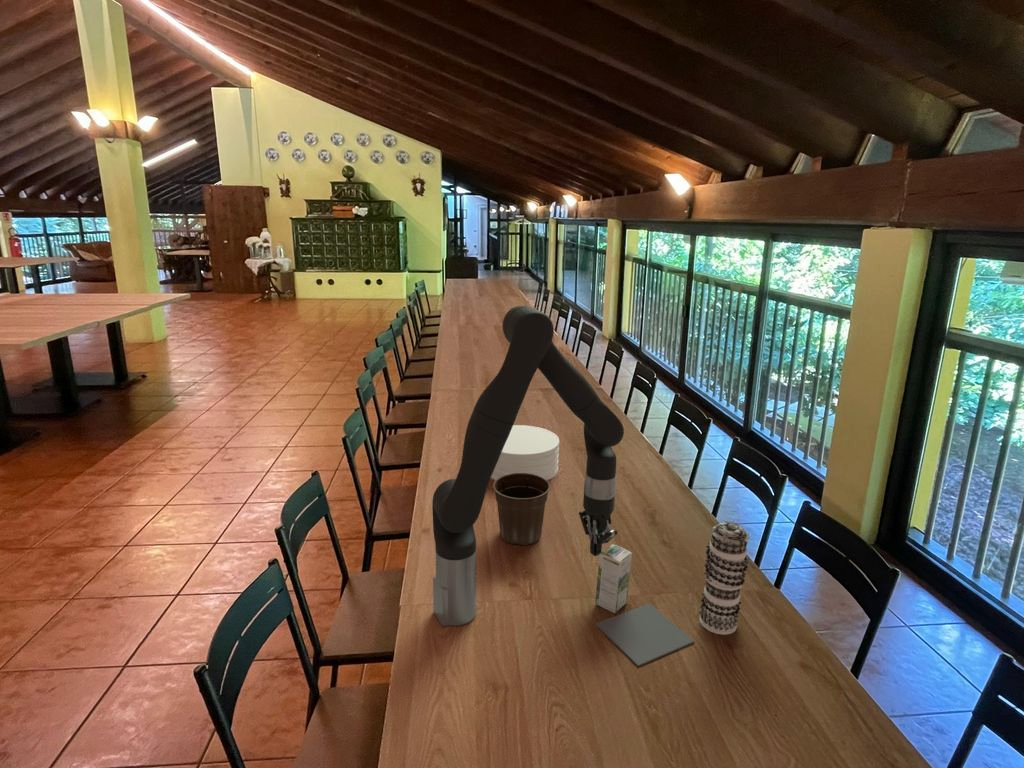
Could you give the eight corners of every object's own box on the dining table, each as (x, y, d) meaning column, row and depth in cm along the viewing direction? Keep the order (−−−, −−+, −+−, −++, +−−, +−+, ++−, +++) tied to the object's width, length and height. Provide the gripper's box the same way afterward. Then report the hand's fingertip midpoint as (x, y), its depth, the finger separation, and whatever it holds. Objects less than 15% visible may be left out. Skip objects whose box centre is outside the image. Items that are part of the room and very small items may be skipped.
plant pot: (517, 556, 169) (519, 504, 164) (481, 533, 181) (481, 483, 176) (559, 537, 179) (561, 486, 175) (522, 515, 191) (523, 468, 186)
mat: (638, 666, 130) (638, 665, 130) (595, 624, 142) (595, 623, 142) (693, 642, 137) (694, 641, 137) (649, 604, 150) (649, 603, 150)
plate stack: (473, 481, 214) (473, 450, 211) (489, 450, 240) (490, 422, 237) (553, 488, 210) (555, 457, 206) (561, 456, 236) (562, 428, 233)
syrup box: (607, 593, 154) (610, 542, 150) (627, 603, 150) (632, 551, 146) (594, 604, 150) (598, 552, 145) (616, 614, 146) (620, 561, 142)
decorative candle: (689, 615, 146) (700, 521, 139) (719, 606, 150) (732, 514, 143) (715, 640, 138) (728, 541, 131) (747, 629, 142) (762, 533, 135)
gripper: (571, 483, 152) (567, 545, 157) (604, 506, 141) (599, 571, 146) (595, 477, 156) (591, 538, 161) (629, 499, 145) (624, 563, 150)
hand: (595, 554), depth 154 cm, fingers closed
